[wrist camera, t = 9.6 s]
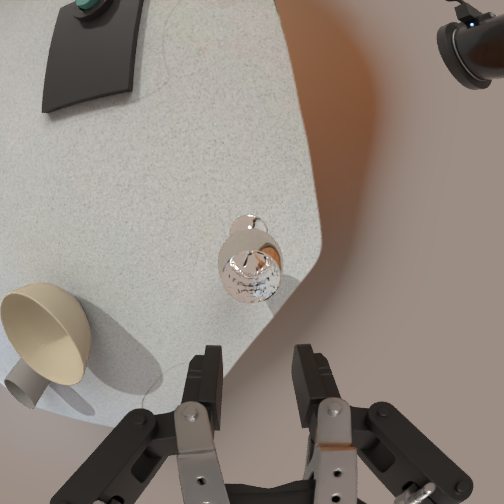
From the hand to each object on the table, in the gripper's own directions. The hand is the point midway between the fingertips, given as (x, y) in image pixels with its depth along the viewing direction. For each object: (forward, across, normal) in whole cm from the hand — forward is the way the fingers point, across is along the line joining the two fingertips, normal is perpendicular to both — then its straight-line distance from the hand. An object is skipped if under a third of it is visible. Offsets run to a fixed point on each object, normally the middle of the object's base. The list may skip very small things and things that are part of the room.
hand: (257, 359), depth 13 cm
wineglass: (+21, 0, 0) cm, 21 cm away
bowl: (+21, +29, +12) cm, 38 cm away
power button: (+19, +21, -34) cm, 44 cm away
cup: (+21, +46, +29) cm, 58 cm away
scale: (+21, +21, -27) cm, 40 cm away
